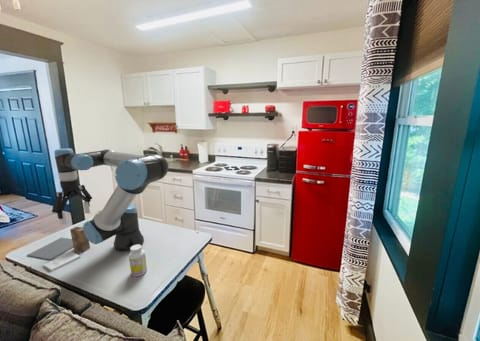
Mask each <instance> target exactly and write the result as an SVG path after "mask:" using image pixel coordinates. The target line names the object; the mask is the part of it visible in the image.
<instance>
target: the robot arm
mask: <svg viewBox="0 0 480 341" xmlns="http://www.w3.org/2000/svg"><path fill="white" fill-rule="evenodd" d="M54 159H55V164H56V169H57V174H58V178H59V184H60V189H61V191H60V192H59V191H56V192H55V199H54V203H53V206H52V210H51V213H55V214H56V215H57V218H58V219H59V222H60V225H63V226H65V225H67V220H66V215H65V211H64V209H65V207H66V205H67V203H68V202H69V200H70V199H72V198H73V197H78V198H80V199H81V200H82V201H83V202H82V205H83V209H84V213H85V214H90V213H91V211H90V210H91V209H90V207H91V206H90V202H91V201H92V200H93V196H92V195H91V194H90V192H88V190H87V189H86V186H85V184H80V182H79V178H78V177H79V176H78V171H88V170H90V169H92V168H94V167H100V166H110V167H116V168H115V172H114V173H115V177H114V178H115V181H116V183H117V186H116V187H115V189H114V191H113V192H112V194H111V196H110V197H109V199H108V200H107V202H106V204H105V205H104V207H103V208H102V210H99V211H98V212H96V213H95V215H94V217H93V218H91V220H87V221H86V222H84V224H83V225H82V227H83V231H84V234H85V236H86V238H87V239H88V240H89V243H91V244H93V245H99V244H100V243H103V242H105V241H106V240H108V239H111V238H113V237H114V236H115V237H114V241H113V248H114V250H115V251H116V252H120V253H123V252H124V253H125V252H131V251H130V248H131V247H132V246H133V245H137V244H139V245H141V246H143V244H144V243H145V240H144V238H145V237H144V235H142V232H141V230H140V226H139V217H138V210H137V207H136V205H135V204H131V203H133V201H134V199H135V198H136V196H137V195H140V194H142V193H143V192H144V191H145V190H146V189H147V187H148V186H149V185H150V184H151V183H154V182H157V181H160V180H162V179H164V177H166V175H167V174H168V171H169V162H168V160H167V159H166V158H165V157H164V156H163V155H160V154H156V153H146V154H144V155H143V154H136V153H135V154H134V153H128V152H119V151H114V150H113V149H109V148H108V149H102V150H98V151H89V152H81V153H74V150H73V149H72V148H69V147H68V148H58V149H55V150H54ZM80 191H81V192H80Z"/></svg>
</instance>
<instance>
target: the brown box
mask: <svg viewBox="0 0 480 341" xmlns="http://www.w3.org/2000/svg"><path fill="white" fill-rule="evenodd" d="M69 231H70V237H71V239H72V242H73V250H74V251H80V252H84V253H85V252H86V251H87V250H90V249H91V245H90V241H89V240H88V239H87V238H86V236H85V234H84V231H83V226H81V227H80V226H74V227H72V228H70V229H69Z"/></svg>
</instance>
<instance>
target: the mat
mask: <svg viewBox="0 0 480 341" xmlns="http://www.w3.org/2000/svg"><path fill="white" fill-rule="evenodd" d="M72 249H74V247H73V242H72V238H67V237H59V238H57V239H55V240H53V241H52V242H50V243H48V244H46V245H44V246H42V247H40V248H38V249H35V250H34V251H32V252H30V253H28V254H26V256H27V257H31V258H36V259H37V258H38V259H40V260H41V259H42V260H46V261H53V260H55V259H57V258H59V257H61V256H62V255H64V254H65V253H66V252H68V251H70V250H72Z"/></svg>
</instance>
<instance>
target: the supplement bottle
mask: <svg viewBox="0 0 480 341" xmlns="http://www.w3.org/2000/svg"><path fill="white" fill-rule="evenodd" d="M142 246H143V245H139V244H137V245H133V246H132V247H131V248H130V251H129V252H130V253H129V254H128V261H129V267H130V273H131V275H132V276H134V277H139V276H142V275H145V273H146V272H147V270H148V268H147V267H148V266H147V259H146V252H145V250H144V249H143V248H142Z"/></svg>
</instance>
